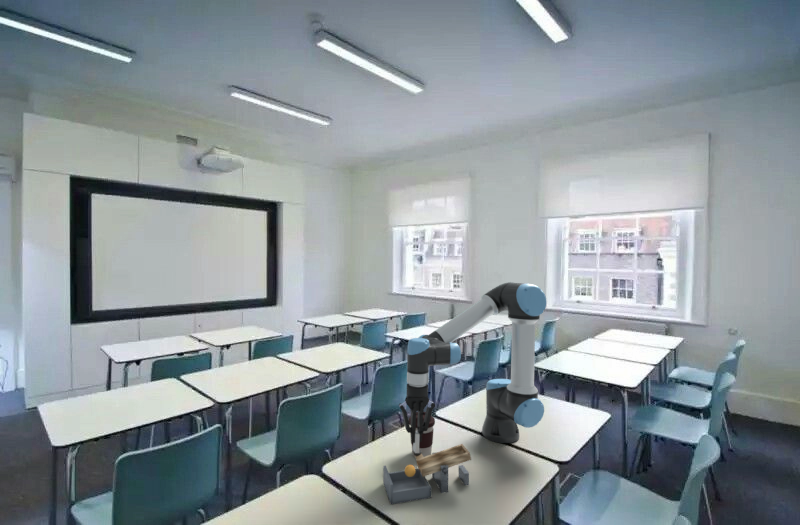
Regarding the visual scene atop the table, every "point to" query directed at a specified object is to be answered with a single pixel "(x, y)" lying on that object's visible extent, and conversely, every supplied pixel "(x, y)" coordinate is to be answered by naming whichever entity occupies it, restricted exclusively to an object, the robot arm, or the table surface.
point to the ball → (410, 470)
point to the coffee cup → (425, 437)
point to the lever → (441, 459)
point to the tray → (405, 486)
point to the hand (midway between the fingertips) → (416, 451)
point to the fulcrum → (441, 478)
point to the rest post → (463, 475)
